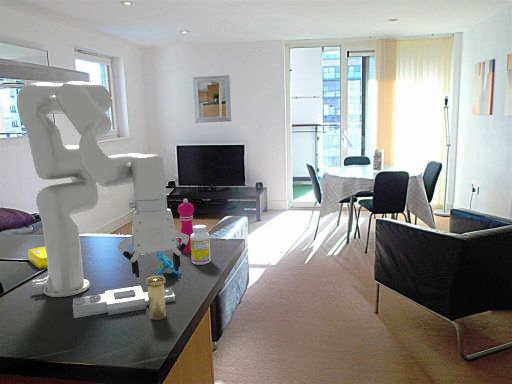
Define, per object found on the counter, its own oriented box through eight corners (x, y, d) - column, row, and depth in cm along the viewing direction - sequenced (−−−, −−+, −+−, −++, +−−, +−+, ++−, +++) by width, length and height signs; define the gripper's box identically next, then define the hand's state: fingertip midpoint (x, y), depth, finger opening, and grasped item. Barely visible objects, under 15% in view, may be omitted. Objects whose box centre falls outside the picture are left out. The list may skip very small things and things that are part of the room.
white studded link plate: (73, 321, 114) (72, 307, 113) (74, 306, 123) (73, 293, 122) (176, 303, 123) (175, 290, 122) (170, 291, 132) (169, 279, 131)
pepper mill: (199, 251, 170) (197, 199, 167) (180, 254, 167) (177, 201, 164) (195, 246, 177) (192, 196, 173) (176, 249, 174) (173, 198, 171)
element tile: (27, 261, 165) (26, 248, 165) (69, 252, 175) (68, 240, 174) (39, 270, 154) (37, 257, 153) (83, 260, 164) (82, 248, 163)
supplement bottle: (194, 258, 161) (193, 223, 159) (212, 259, 160) (211, 224, 158) (189, 265, 155) (187, 228, 153) (208, 265, 154) (206, 228, 152)
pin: (149, 322, 112) (147, 283, 110) (147, 314, 117) (144, 277, 115) (169, 318, 114) (166, 280, 112) (165, 311, 118) (163, 274, 117)
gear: (184, 275, 142) (160, 255, 139) (171, 289, 141) (147, 270, 138) (179, 264, 152) (157, 246, 149) (167, 278, 152) (144, 259, 148)
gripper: (115, 212, 104) (122, 283, 106) (189, 203, 110) (194, 271, 112) (113, 207, 111) (119, 274, 113) (183, 199, 117) (187, 263, 119)
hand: (157, 272), depth 113 cm, fingers open, 9 cm apart
